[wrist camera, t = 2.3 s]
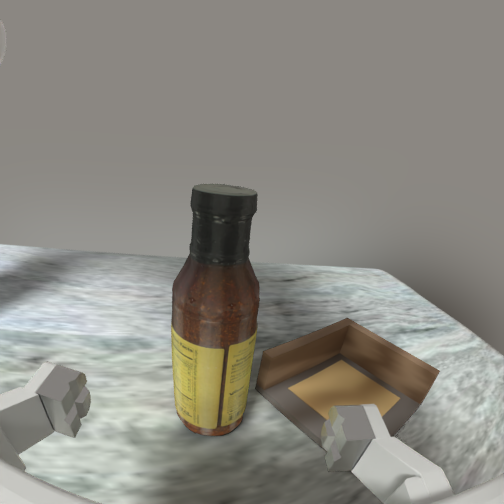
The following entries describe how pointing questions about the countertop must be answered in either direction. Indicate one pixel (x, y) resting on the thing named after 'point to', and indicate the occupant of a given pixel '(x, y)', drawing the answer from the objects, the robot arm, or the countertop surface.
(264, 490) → the countertop surface
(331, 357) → the corner arena
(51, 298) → the countertop surface
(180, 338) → the sauce bottle
